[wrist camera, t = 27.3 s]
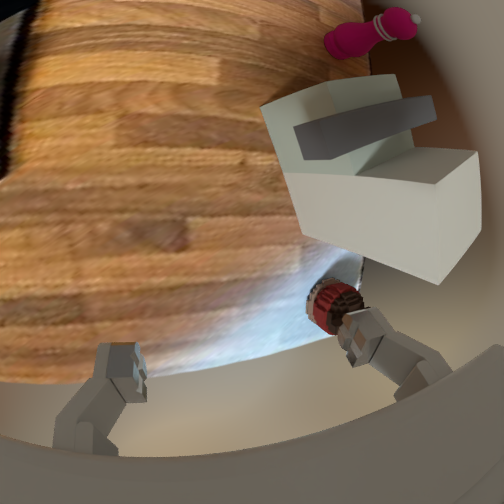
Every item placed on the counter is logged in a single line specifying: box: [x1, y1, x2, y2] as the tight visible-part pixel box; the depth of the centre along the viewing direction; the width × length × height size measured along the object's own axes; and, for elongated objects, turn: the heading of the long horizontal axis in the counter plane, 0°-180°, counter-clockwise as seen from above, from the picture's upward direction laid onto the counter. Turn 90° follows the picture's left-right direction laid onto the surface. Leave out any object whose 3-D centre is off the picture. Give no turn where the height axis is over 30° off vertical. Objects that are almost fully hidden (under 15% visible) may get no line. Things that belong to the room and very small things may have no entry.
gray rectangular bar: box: [293, 95, 437, 160], centre depth 26 cm, size 22×4×4 cm, turn 111°
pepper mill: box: [324, 7, 421, 60], centre depth 32 cm, size 7×7×20 cm
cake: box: [306, 278, 371, 335], centre depth 45 cm, size 11×9×18 cm
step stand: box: [260, 74, 481, 285], centre depth 33 cm, size 14×22×26 cm, turn 21°
